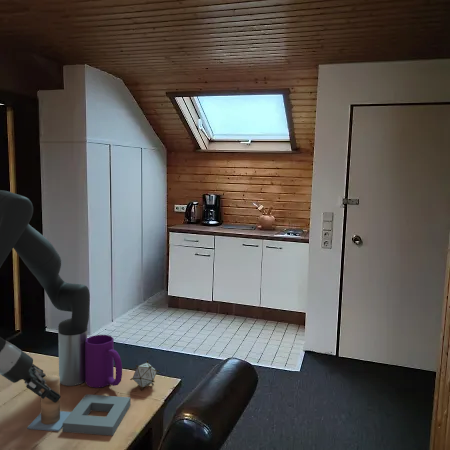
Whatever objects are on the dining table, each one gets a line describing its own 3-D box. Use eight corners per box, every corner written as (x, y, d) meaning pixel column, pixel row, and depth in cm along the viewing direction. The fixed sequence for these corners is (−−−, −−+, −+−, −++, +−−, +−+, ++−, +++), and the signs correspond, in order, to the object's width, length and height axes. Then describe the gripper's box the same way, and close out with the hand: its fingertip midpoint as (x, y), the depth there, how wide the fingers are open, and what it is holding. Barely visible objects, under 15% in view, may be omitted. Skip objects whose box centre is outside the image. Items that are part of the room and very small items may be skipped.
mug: (102, 373, 155) (102, 332, 154) (131, 387, 146) (132, 343, 144) (79, 382, 148) (79, 339, 146) (109, 397, 139) (109, 352, 137)
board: (86, 401, 136) (86, 394, 136) (130, 405, 135) (130, 397, 134) (62, 431, 120) (62, 423, 120) (112, 435, 119) (112, 426, 119)
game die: (144, 394, 149) (150, 364, 154) (160, 393, 144) (166, 362, 149) (122, 388, 144) (129, 357, 149) (138, 387, 139) (145, 355, 144)
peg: (46, 414, 128) (45, 374, 126) (63, 415, 127) (62, 375, 126) (37, 423, 123) (37, 382, 121) (55, 425, 122) (54, 383, 121)
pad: (43, 411, 130) (43, 409, 130) (73, 413, 129) (73, 412, 129) (27, 428, 121) (27, 427, 121) (59, 431, 120) (59, 429, 120)
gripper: (23, 359, 113) (70, 392, 120) (17, 341, 125) (60, 371, 132) (0, 384, 111) (49, 416, 118) (-3, 362, 123) (42, 392, 130)
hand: (55, 392), depth 125 cm, fingers open, 8 cm apart
